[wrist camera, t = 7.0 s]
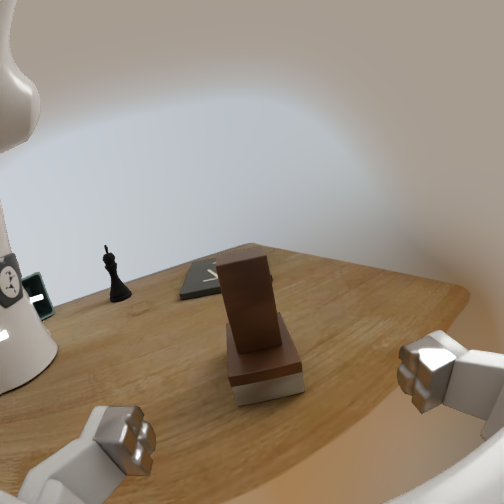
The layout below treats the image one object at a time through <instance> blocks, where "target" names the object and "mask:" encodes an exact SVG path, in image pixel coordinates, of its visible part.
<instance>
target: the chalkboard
mask: <svg viewBox="0 0 504 504" xmlns="http://www.w3.org/2000/svg"><path fill="white" fill-rule="evenodd" d="M270 276H271V282H272V281H273V280H272V275H271V274H270ZM220 292H221V288H220V284H219V279H218V275H217V271H216V258H212V259H207V260H202V261H198V262H193V263H192V265H191V267H190V270H189V272H188V274H187V277H186V279H185V282H184V284H183V287H182V289H181V292H180V298H181V300H184V299H190V298H195V297H200V296H205V295H210V294H215V293H220Z"/></svg>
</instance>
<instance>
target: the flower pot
mask: <svg viewBox="0 0 504 504" xmlns="http://www.w3.org/2000/svg"><path fill="white" fill-rule="evenodd" d="M21 281H22V285H23V288H24V289H25V290H26V291H27V293H28V295H29V297H31V298H32V297H35V296H38V295H41V294H42V296H43V299H41V300H38V301H35V302H32V303H33V305H34V307H35V309H36V311H37V313H38V315H39V317H40V319H41V320H43V319H45V318H47V317H49V316H51V315H53V314H54V313H55V310H54V308H53V305H52V303H51V301H50V298H49V296H48V293H47V291H46V288H45V285H44V282H43V280H42V276H41V274H40V272H36V273H34V274H32V275H30V276H27V277H25V278H23V279H21Z"/></svg>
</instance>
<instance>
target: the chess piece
mask: <svg viewBox="0 0 504 504" xmlns="http://www.w3.org/2000/svg"><path fill="white" fill-rule="evenodd" d="M104 247H105V250H106V253H107V254H105V255H104V256H103V261H104V263H105V264H106V266H105V268H106V270H107V271H108V272H109V274H110V276H111V291H110V301H111V302H118V301H122V300H124V299H127V298H128V297H130V296H131V294H132V293H131V291H129V289H128V288H127V287H126V286H125V285H124V284H123V282H122V281H121V280H120V279H119V278H118V275H117V271H116V269H117V263H115V256H114V255H113V254H112V253H108V247H107V246H106V245H105V246H104Z"/></svg>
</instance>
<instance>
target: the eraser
mask: <svg viewBox="0 0 504 504" xmlns="http://www.w3.org/2000/svg"><path fill="white" fill-rule="evenodd" d="M216 271H217V275H218V279H219V284H220V288H221V292H222V296H223V300H224V304H225V308H226V312H227V316H228V320H229V323H227V324H226V331H227V363H228V379H229V382H230V385H231V388H232V391H233V394H234V397H235V400H236V403H237V405H238V406H242V405H247V404H253V403H258V402H263V401H268V400H272V399H277V398H281V397H285V396H290V395H294V394H298V393H301V392H305V388H304V380H303V372H302V363H301V360H300V357H299V355H298V353H297V351H296V348H295V346H294V344H293V341H292V339H291V337H290V334H289V332H288V330H287V328H286V325H285V323H284V321H283V318H282V316H281V314H280V312H278V313H277V310H276V304H275V299H274V293H273V287H272V282H271V276H270V271H269V265H268V260H267V256H266V254H265V252H264V251H263V249H262V247H261V246H258V247H253V248H248V249H244V250H239V251H234V252H229V253H225V254H220V255H217V258H216Z"/></svg>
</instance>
